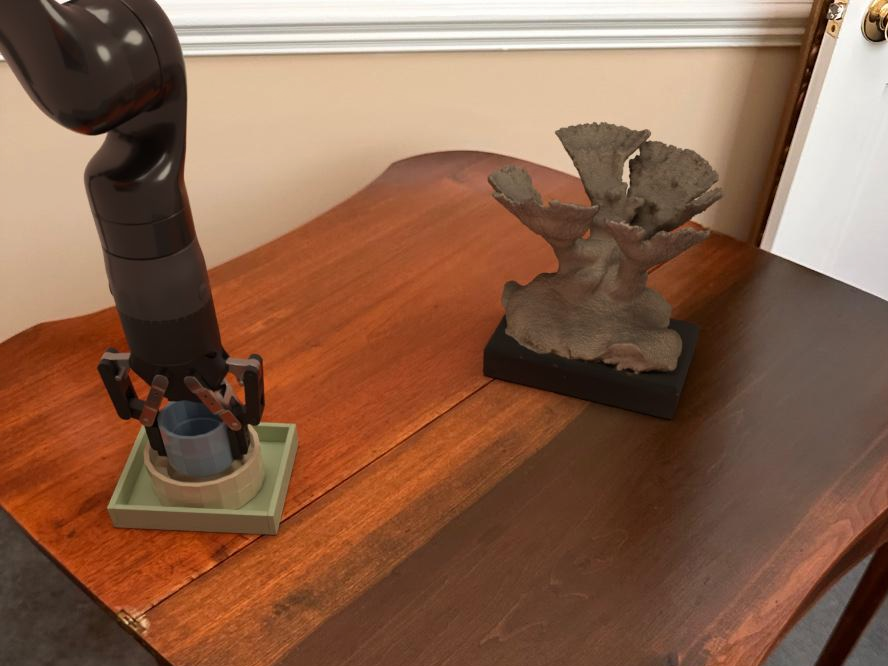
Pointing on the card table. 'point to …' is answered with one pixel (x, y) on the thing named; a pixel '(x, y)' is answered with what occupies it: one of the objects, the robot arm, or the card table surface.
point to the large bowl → (208, 481)
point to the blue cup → (195, 439)
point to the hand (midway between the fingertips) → (202, 452)
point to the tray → (258, 516)
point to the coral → (604, 273)
